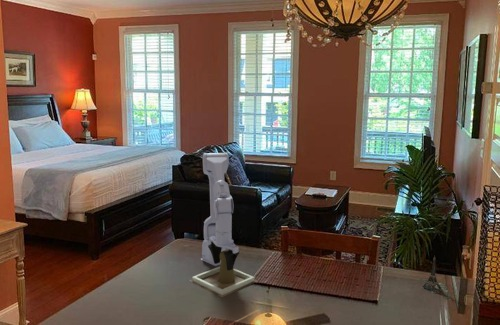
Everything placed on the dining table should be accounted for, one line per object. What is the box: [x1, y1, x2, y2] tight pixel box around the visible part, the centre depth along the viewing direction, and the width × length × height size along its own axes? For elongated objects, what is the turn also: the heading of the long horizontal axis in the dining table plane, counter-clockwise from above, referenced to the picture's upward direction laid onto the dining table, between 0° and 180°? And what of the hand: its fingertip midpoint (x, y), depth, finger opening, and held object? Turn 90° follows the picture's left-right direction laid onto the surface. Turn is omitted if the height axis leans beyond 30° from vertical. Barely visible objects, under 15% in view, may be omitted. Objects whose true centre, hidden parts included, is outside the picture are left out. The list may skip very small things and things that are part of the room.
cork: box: [218, 249, 235, 284], centre depth 169 cm, size 6×6×11 cm
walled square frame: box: [191, 266, 256, 295], centre depth 169 cm, size 16×16×2 cm
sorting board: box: [188, 272, 259, 298], centre depth 169 cm, size 18×18×1 cm
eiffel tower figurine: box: [416, 256, 453, 301], centre depth 165 cm, size 15×10×13 cm
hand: (223, 266), depth 168 cm, fingers open, 7 cm apart
